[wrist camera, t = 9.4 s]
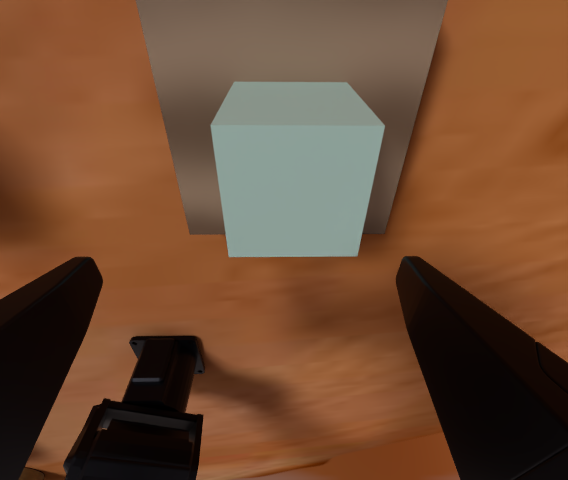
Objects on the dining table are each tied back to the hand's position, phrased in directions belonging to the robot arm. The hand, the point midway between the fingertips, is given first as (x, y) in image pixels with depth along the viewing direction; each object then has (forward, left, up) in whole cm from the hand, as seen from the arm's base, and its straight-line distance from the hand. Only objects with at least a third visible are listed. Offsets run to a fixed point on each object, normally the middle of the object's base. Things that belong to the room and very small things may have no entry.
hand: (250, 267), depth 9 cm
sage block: (+1, -1, -8) cm, 8 cm away
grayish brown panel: (+1, -1, -11) cm, 11 cm away
